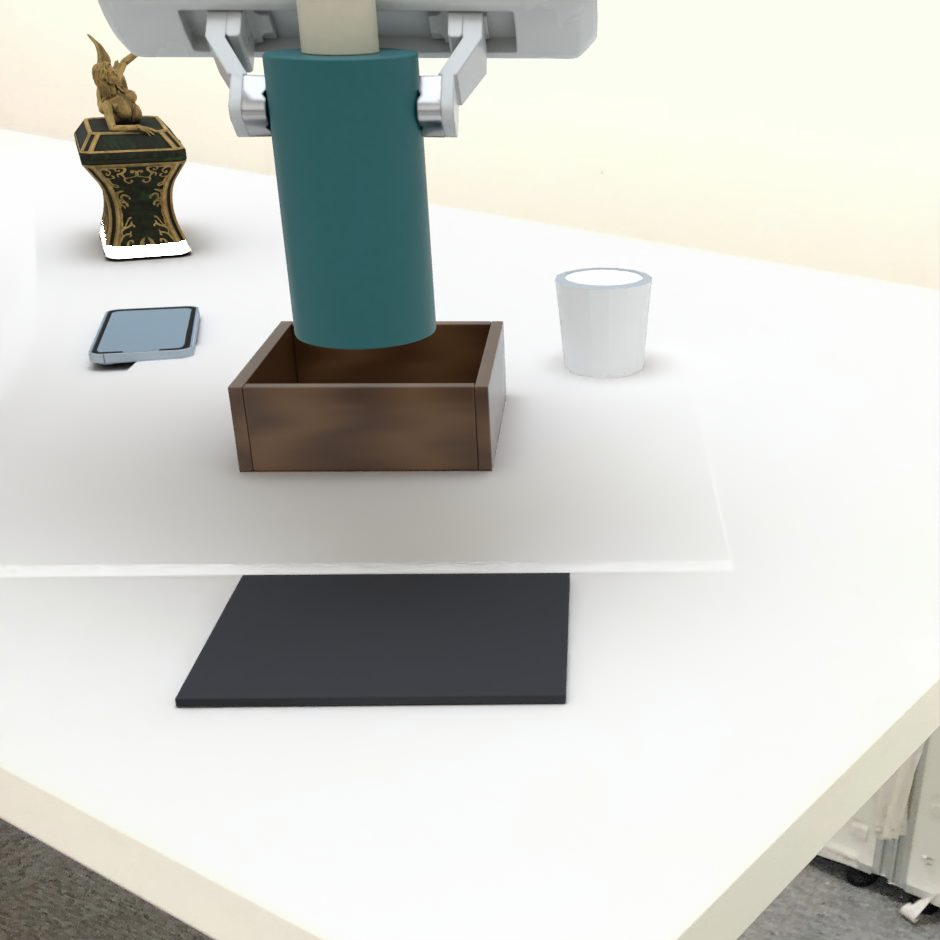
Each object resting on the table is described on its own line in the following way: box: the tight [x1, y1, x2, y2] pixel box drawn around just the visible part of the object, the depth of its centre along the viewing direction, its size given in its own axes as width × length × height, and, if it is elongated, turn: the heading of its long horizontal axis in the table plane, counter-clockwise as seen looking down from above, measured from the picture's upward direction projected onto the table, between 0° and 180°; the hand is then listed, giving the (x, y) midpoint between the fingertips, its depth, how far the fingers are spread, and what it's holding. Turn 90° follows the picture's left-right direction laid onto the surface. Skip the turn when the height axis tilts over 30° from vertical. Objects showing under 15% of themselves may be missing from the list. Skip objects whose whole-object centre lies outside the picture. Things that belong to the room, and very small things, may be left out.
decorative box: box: [73, 33, 188, 246], centre depth 132 cm, size 20×10×20 cm, turn 22°
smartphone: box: [87, 305, 201, 366], centre depth 103 cm, size 7×1×15 cm
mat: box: [174, 572, 571, 708], centre depth 60 cm, size 16×12×1 cm
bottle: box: [261, 0, 437, 349], centre depth 54 cm, size 6×6×14 cm
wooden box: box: [227, 320, 507, 473], centre depth 83 cm, size 15×15×6 cm
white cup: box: [554, 267, 653, 379], centre depth 95 cm, size 7×7×7 cm
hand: (346, 128), depth 53 cm, fingers closed on bottle, 6 cm apart
